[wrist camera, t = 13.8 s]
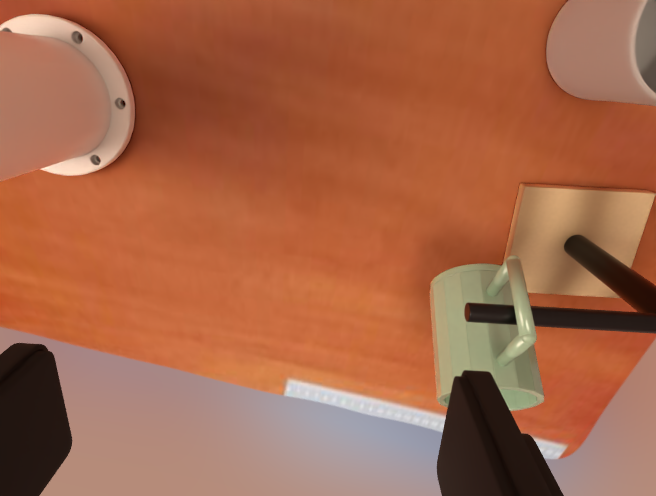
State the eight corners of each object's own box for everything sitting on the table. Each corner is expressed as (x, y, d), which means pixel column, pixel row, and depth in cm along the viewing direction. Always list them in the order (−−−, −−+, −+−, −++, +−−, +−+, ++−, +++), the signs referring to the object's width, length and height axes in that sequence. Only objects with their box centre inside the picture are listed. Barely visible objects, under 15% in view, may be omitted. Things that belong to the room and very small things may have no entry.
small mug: (502, 305, 38) (520, 414, 33) (422, 301, 38) (428, 409, 33) (564, 231, 28) (602, 370, 23) (456, 225, 28) (473, 361, 24)
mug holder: (419, 280, 42) (457, 386, 28) (433, 178, 38) (485, 240, 24) (619, 292, 42) (759, 405, 28) (653, 190, 38) (835, 260, 24)
